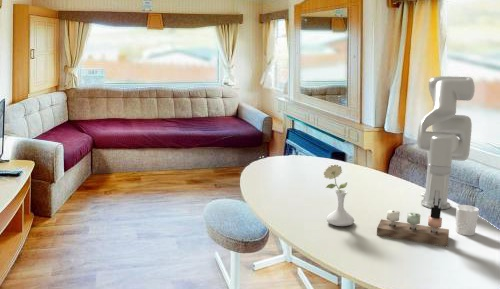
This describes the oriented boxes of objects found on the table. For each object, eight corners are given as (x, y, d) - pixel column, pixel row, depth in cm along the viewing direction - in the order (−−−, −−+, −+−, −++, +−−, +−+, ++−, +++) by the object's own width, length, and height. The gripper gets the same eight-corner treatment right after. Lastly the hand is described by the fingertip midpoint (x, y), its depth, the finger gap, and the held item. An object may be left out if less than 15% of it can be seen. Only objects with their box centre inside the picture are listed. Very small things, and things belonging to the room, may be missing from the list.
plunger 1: (385, 228, 169) (386, 211, 167) (387, 224, 173) (388, 208, 172) (397, 230, 167) (398, 213, 166) (399, 226, 171) (400, 210, 170)
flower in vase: (352, 219, 185) (355, 161, 180) (355, 229, 174) (358, 168, 169) (321, 218, 186) (323, 161, 181) (322, 228, 175) (324, 167, 170)
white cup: (464, 237, 166) (466, 212, 164) (449, 229, 173) (451, 205, 172) (481, 235, 168) (483, 210, 166) (466, 227, 175) (468, 204, 174)
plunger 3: (426, 234, 162) (428, 218, 161) (427, 230, 167) (429, 214, 165) (440, 237, 161) (441, 220, 159) (440, 232, 165) (442, 216, 163)
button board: (376, 235, 168) (377, 227, 167) (380, 226, 177) (381, 219, 176) (447, 246, 157) (448, 238, 157) (448, 236, 166) (448, 229, 166)
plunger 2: (405, 231, 166) (406, 214, 164) (407, 227, 170) (408, 211, 168) (418, 233, 164) (419, 216, 162) (419, 229, 168) (420, 212, 166)
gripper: (429, 164, 167) (425, 210, 170) (427, 172, 154) (423, 222, 157) (451, 166, 164) (446, 212, 167) (450, 175, 151) (445, 225, 154)
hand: (435, 217), depth 162 cm, fingers closed
